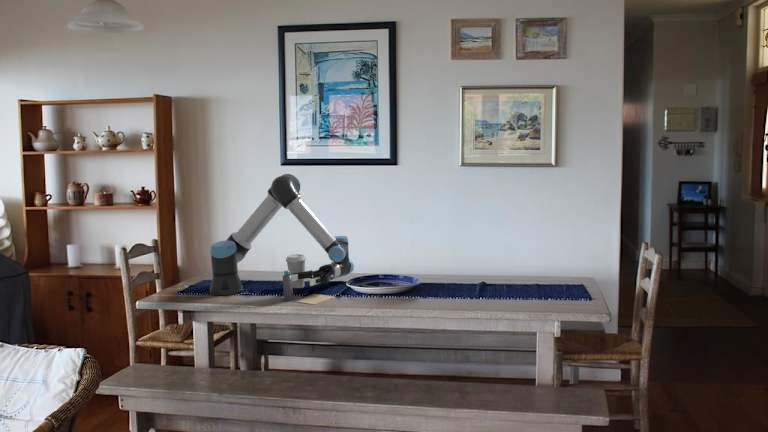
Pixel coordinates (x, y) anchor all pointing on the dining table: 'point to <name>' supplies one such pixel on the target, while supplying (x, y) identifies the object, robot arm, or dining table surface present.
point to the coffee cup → (296, 268)
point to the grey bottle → (287, 286)
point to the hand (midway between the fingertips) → (298, 281)
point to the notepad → (314, 299)
